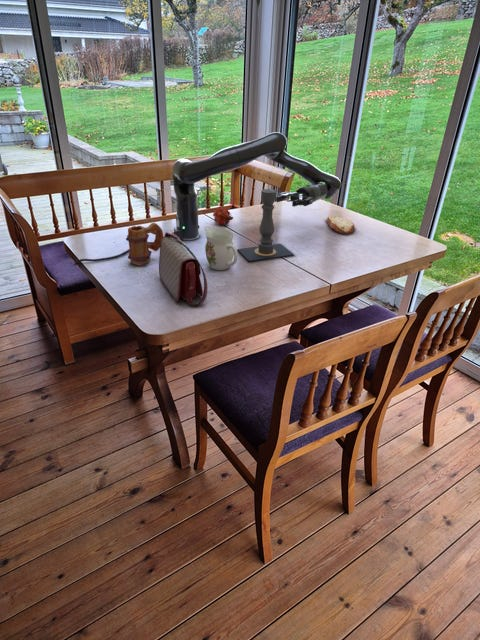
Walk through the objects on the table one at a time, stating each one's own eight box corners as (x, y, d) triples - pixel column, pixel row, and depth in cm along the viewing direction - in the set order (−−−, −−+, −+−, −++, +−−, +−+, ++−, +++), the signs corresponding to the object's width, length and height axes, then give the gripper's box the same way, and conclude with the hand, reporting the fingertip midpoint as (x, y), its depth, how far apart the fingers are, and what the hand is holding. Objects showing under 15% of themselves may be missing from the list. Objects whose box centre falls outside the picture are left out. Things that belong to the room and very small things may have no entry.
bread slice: (329, 218, 229) (330, 211, 227) (363, 225, 220) (364, 218, 218) (313, 227, 216) (313, 220, 214) (347, 236, 207) (349, 228, 205)
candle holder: (272, 254, 185) (275, 193, 172) (257, 253, 186) (259, 192, 173) (274, 249, 190) (277, 189, 177) (259, 247, 191) (261, 188, 178)
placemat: (249, 262, 180) (249, 260, 179) (237, 250, 190) (237, 248, 190) (293, 255, 186) (294, 254, 186) (280, 244, 197) (280, 243, 196)
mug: (131, 268, 173) (127, 231, 165) (125, 261, 179) (121, 224, 171) (167, 262, 179) (165, 225, 171) (161, 254, 185) (158, 219, 177)
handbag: (212, 305, 149) (211, 256, 140) (181, 311, 145) (178, 261, 136) (184, 272, 171) (182, 228, 162) (157, 277, 167) (153, 231, 158)
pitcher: (225, 279, 166) (225, 243, 159) (196, 263, 178) (194, 230, 171) (247, 271, 173) (248, 236, 165) (217, 256, 184) (217, 224, 177)
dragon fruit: (217, 222, 226) (228, 232, 218) (205, 214, 220) (216, 225, 212) (227, 207, 224) (239, 218, 216) (215, 199, 218) (227, 210, 210)
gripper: (296, 182, 197) (272, 189, 187) (323, 188, 189) (299, 196, 179) (294, 199, 201) (271, 207, 191) (321, 206, 193) (297, 214, 183)
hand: (284, 201), depth 185 cm, fingers open, 8 cm apart
